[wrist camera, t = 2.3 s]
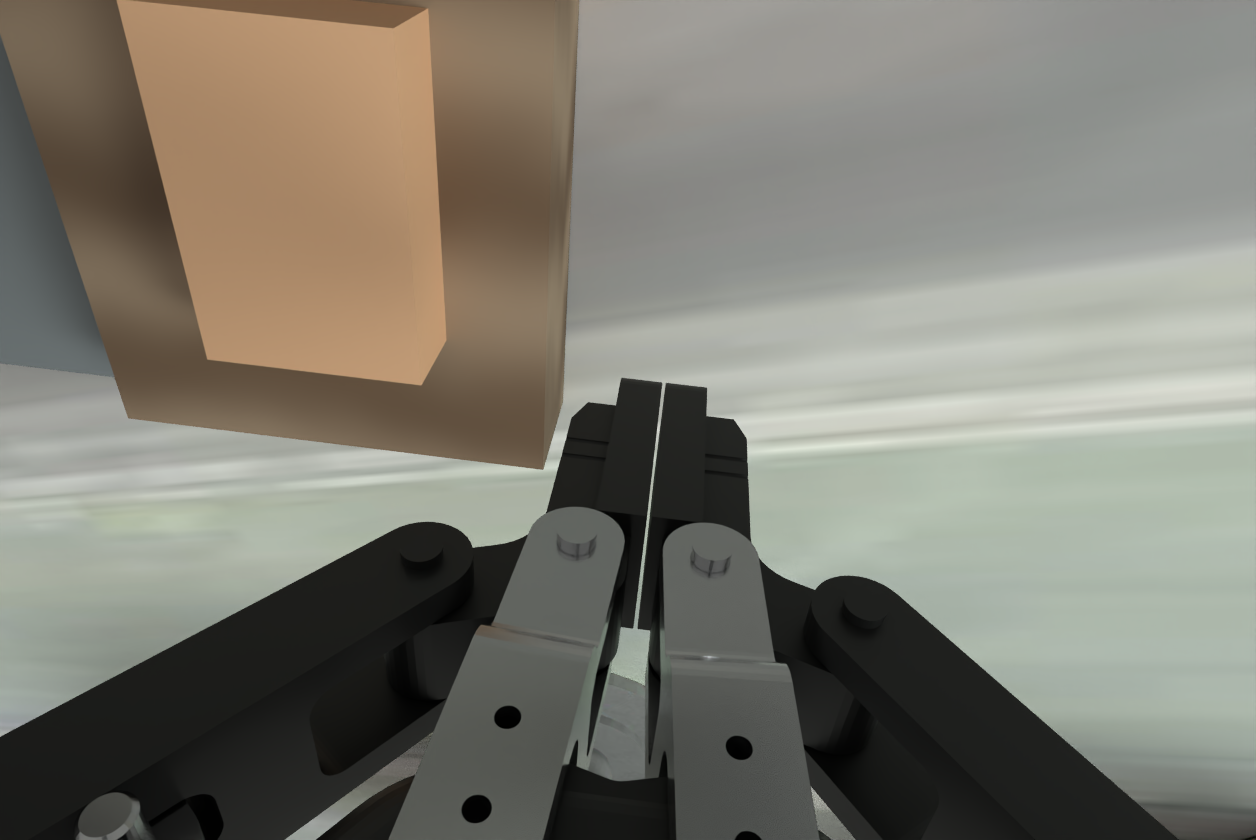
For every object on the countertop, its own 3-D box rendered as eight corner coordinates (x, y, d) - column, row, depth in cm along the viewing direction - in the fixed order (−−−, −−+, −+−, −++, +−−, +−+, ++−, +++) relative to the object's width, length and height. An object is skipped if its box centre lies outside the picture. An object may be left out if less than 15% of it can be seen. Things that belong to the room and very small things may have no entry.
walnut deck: (26, -267, 21) (-106, -285, 17) (587, -213, 20) (560, -221, 17) (191, 356, 31) (128, 418, 28) (562, 401, 30) (543, 469, 27)
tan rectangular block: (179, -19, 20) (116, -2, 18) (428, 8, 20) (393, 28, 17) (249, 316, 25) (207, 359, 23) (446, 340, 25) (421, 385, 23)
